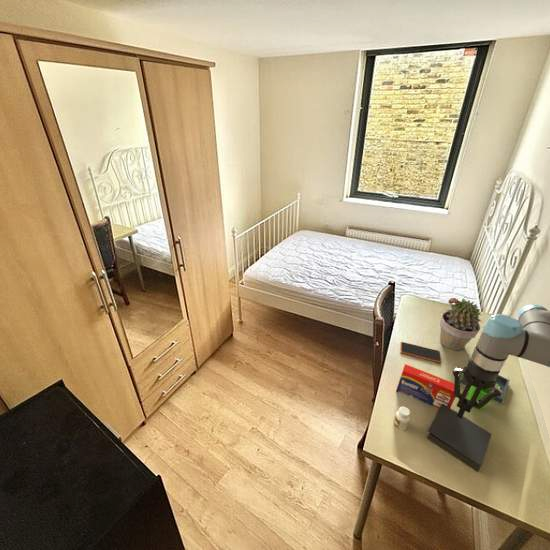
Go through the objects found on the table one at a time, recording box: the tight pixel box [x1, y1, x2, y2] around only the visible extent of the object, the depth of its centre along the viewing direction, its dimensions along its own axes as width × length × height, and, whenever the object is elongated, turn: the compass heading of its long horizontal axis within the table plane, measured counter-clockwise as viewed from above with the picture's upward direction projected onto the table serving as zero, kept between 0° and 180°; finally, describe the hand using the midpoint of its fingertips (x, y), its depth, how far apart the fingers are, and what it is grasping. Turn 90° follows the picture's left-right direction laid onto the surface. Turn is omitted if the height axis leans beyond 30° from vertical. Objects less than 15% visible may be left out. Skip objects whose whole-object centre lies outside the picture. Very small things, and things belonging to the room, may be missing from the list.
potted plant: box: [439, 297, 484, 352], centre depth 132 cm, size 18×20×25 cm
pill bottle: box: [393, 406, 411, 431], centre depth 100 cm, size 4×4×8 cm
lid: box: [427, 403, 492, 468], centre depth 95 cm, size 15×14×1 cm
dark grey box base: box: [426, 432, 481, 473], centre depth 96 cm, size 15×14×3 cm
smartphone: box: [400, 341, 442, 364], centre depth 132 cm, size 8×17×1 cm, turn 69°
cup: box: [467, 383, 499, 411], centre depth 106 cm, size 9×9×11 cm
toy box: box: [395, 363, 456, 410], centre depth 108 cm, size 18×4×12 cm, turn 58°
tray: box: [461, 374, 510, 404], centre depth 118 cm, size 14×13×2 cm
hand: (460, 414), depth 96 cm, fingers closed
